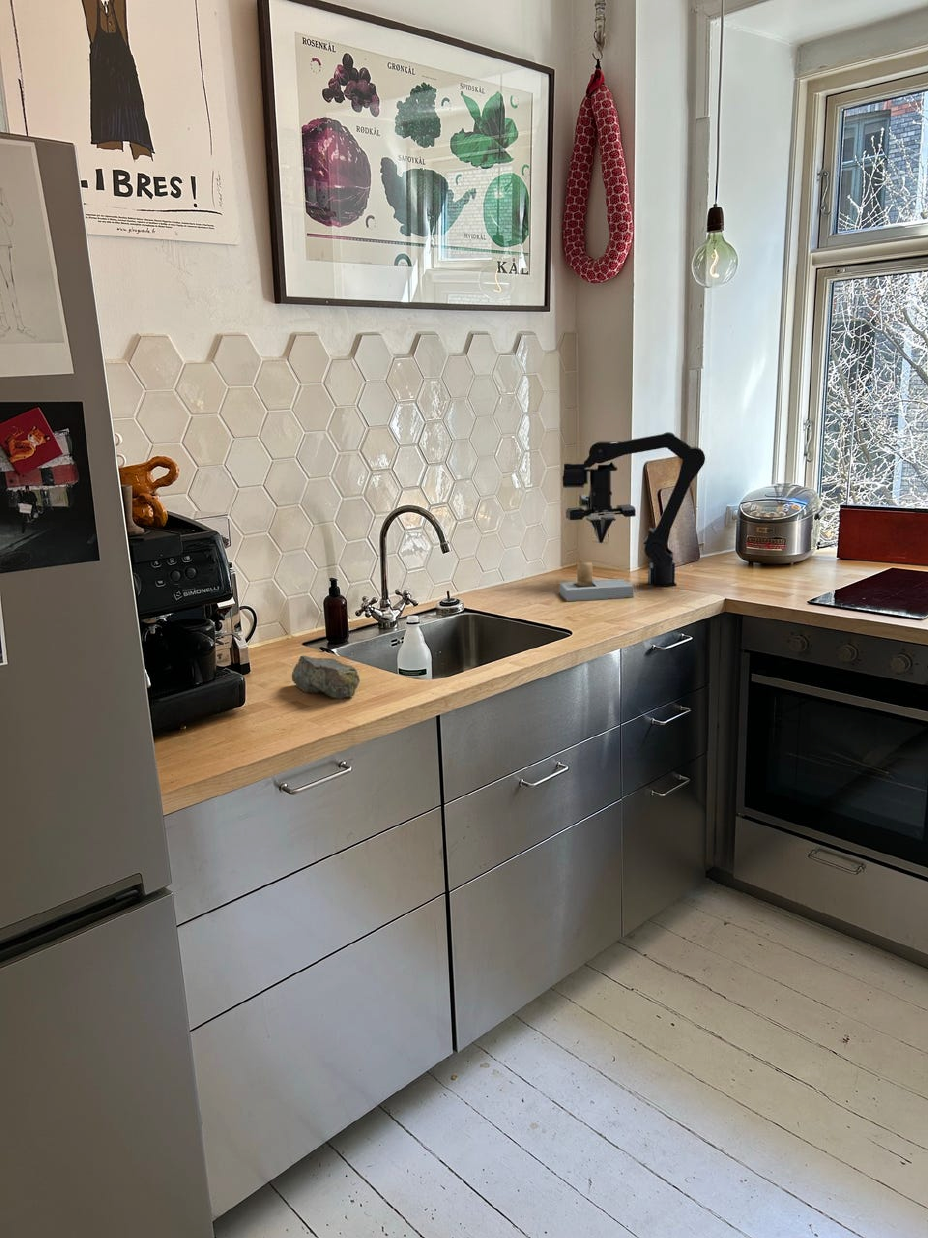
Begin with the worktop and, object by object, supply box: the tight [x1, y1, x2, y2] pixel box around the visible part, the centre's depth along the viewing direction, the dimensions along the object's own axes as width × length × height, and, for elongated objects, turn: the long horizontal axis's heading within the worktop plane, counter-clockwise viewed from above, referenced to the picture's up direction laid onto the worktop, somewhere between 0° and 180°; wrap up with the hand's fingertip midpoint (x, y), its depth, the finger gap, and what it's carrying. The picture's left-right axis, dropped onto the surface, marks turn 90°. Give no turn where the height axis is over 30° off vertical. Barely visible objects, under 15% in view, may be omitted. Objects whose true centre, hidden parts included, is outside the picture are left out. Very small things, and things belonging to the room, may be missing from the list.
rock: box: [291, 655, 361, 700], centre depth 171 cm, size 17×7×10 cm
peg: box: [576, 561, 593, 588], centre depth 240 cm, size 4×4×9 cm
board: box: [558, 578, 634, 602], centre depth 241 cm, size 18×10×3 cm, turn 95°
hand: (600, 542), depth 251 cm, fingers closed
